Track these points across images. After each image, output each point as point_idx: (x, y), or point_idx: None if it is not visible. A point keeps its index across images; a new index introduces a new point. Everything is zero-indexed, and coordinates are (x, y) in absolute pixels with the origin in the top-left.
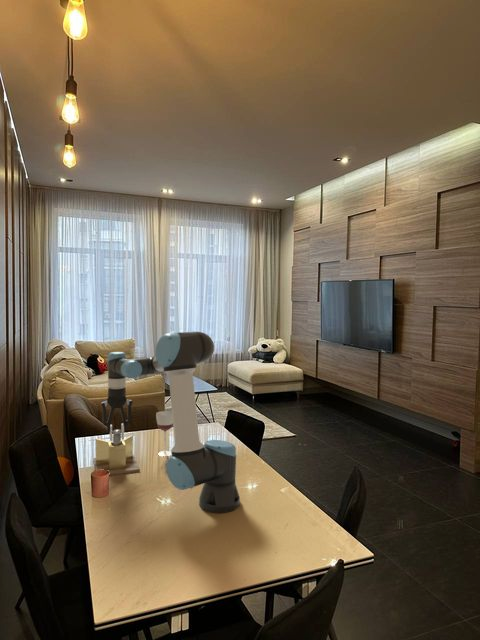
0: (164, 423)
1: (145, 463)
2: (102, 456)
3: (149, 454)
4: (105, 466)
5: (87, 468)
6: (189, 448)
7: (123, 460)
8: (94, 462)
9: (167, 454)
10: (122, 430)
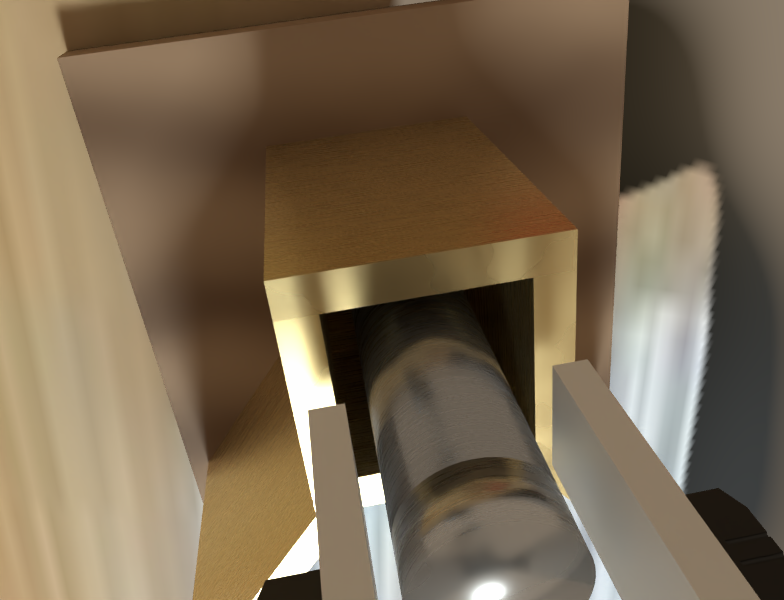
0: None
1: (35, 307)
2: None
3: (34, 534)
4: None
5: (673, 258)
6: None
7: (296, 174)
8: (610, 346)
9: None
10: (362, 572)
